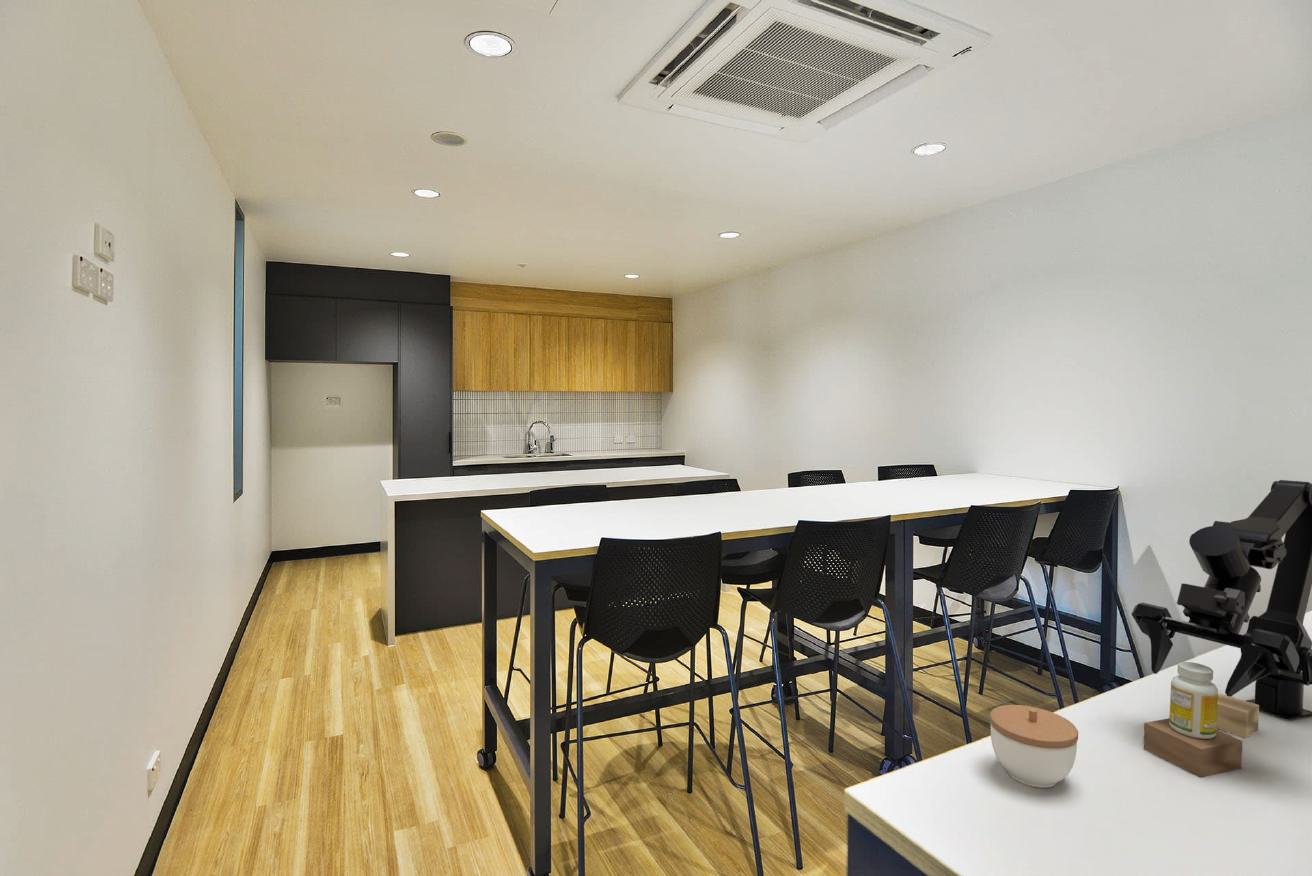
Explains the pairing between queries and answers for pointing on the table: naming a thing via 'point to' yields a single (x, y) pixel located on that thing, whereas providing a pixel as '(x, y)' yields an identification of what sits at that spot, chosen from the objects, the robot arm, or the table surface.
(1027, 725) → the lidded jar
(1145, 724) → the walnut block
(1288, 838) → the table surface
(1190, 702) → the supplement bottle
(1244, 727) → the oak block
